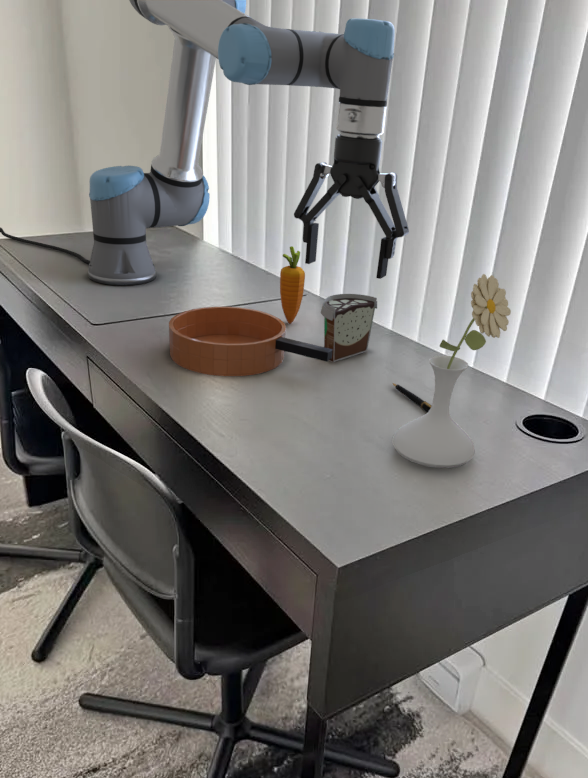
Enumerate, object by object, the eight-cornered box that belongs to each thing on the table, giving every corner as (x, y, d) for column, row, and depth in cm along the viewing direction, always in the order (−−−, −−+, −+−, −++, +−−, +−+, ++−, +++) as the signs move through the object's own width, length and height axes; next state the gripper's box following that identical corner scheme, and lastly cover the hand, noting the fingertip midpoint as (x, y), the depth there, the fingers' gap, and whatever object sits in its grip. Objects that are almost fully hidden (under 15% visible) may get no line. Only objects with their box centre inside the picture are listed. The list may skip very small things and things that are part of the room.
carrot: (299, 328, 140) (304, 252, 133) (275, 325, 141) (278, 249, 133) (304, 321, 145) (309, 246, 137) (280, 318, 145) (284, 243, 138)
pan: (146, 358, 122) (144, 327, 119) (211, 327, 138) (211, 299, 135) (246, 386, 115) (247, 354, 112) (303, 350, 130) (305, 321, 127)
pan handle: (274, 348, 120) (274, 339, 119) (279, 345, 121) (280, 336, 121) (327, 361, 116) (327, 352, 115) (332, 358, 118) (332, 349, 117)
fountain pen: (388, 386, 118) (389, 378, 117) (394, 385, 118) (395, 377, 118) (439, 423, 107) (441, 414, 106) (446, 421, 108) (447, 413, 107)
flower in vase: (418, 482, 92) (452, 291, 79) (375, 442, 100) (400, 265, 87) (499, 467, 96) (544, 285, 83) (451, 430, 105) (485, 261, 92)
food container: (347, 340, 136) (353, 289, 131) (372, 349, 133) (378, 297, 128) (303, 353, 129) (307, 299, 123) (327, 364, 125) (332, 308, 120)
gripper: (279, 127, 113) (272, 260, 124) (426, 146, 104) (404, 288, 115) (300, 125, 119) (292, 252, 130) (441, 143, 110) (419, 278, 121)
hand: (345, 269), depth 123 cm, fingers open, 13 cm apart
